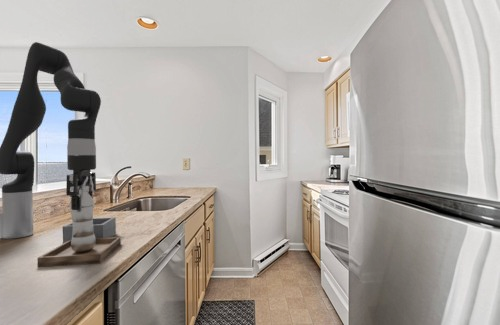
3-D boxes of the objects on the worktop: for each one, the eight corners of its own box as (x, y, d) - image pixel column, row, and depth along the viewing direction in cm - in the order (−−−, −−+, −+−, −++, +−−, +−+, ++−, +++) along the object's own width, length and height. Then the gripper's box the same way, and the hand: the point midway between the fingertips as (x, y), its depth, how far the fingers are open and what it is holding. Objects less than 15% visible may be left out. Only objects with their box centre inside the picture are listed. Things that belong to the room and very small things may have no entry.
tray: (37, 267, 77) (37, 257, 77) (70, 247, 95) (70, 239, 95) (100, 263, 79) (100, 254, 79) (120, 244, 97) (120, 237, 97)
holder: (62, 245, 97) (62, 226, 97) (80, 235, 110) (80, 218, 110) (103, 243, 99) (102, 224, 99) (115, 234, 112) (115, 217, 112)
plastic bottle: (100, 248, 89) (99, 185, 89) (80, 255, 83) (78, 187, 83) (87, 246, 92) (85, 184, 92) (66, 253, 86) (64, 186, 85)
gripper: (79, 154, 94) (80, 204, 94) (55, 153, 79) (56, 211, 80) (103, 154, 95) (104, 203, 95) (84, 153, 80) (85, 211, 81)
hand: (82, 207), depth 87 cm, fingers open, 8 cm apart
